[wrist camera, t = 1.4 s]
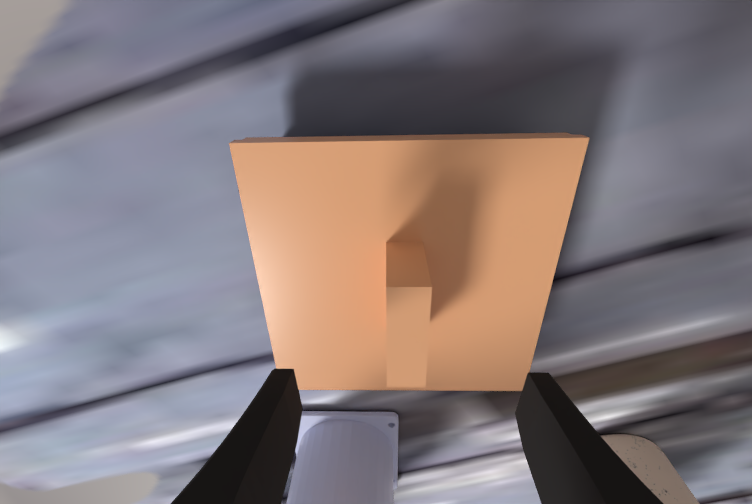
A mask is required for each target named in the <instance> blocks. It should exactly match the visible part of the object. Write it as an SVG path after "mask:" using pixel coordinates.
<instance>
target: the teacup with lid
mask: <svg viewBox="0 0 752 504" xmlns="http://www.w3.org/2000/svg"><path fill="white" fill-rule="evenodd" d="M601 437H602V438H603V439H604V440H605V442H606V443H607V444H608V445H609V446H610V447H611V448H612V450H613V451H614V452H615V453H616V454H617V455H618V456H619V457H620V458H621V460H622V461H623V462H624V463H625V464H626V465H627V466H628V467H629V468H630V469H631V470H632V471H633V472H634V474H635V475H636V476H637V477H638V478H639V479H640V480H641V481H642V482H643V483H644V484H645V485H646V486H647V487H648V488H649V489H650V490H651V491H652V492H653V493H654V494H655V495H656V496H657V497H658V498H659V499H660V500H661V501H662V502H663V503H664V504H699V502H698V501H697V500H696V498H695V497H694V495H693V494H692V493H691V491H690V490H689V488H688V487H687V485H686V484H685V483H684V481H683V480H682V478H681V477H680V475H679V474H678V473H677V471H676V470H675V468H674V467H673V465H672V464H671V463H670V461H669V460H668V458H667V457H666V456H665V454H664V453H663V451H662V450H661V449H660V448H659V447H658V446H657V445H656V444H654V443H653V442H651V441H649V440H647V439H645V438H642V437H639V436H635V435H627V434H609V435H602V436H601Z"/></svg>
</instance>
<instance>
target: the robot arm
mask: <svg viewBox="0 0 752 504" xmlns="http://www.w3.org/2000/svg"><path fill="white" fill-rule="evenodd" d="M515 414H516V419H517V424H518V428H519V433H520V437H521V442H522V446H523V450H524V453H525V456H526V459H527V462H528V465H529V468H530V471H531V474H532V477H533V480H534V483H535V485H536V488H537V491H538V494H539V497H540V500H541V503H542V504H664V503H663V502H662V501H661V500H660V499H659V498H658V497H657V496H656V495H655V494H654V493H653V492H652V491H651V490H650V489H649V488H648V487H647V486H646V485H645V484H644V483H643V482H642V481H641V480H640V479H639V478H638V477H637V476H636V475H635V474H634V472H633V471H632V470H631V469H630V468H629V467H628V466H627V465H626V464H625V463H624V462H623V461H622V460H621V458H620V457H619V456H618V455H617V454H616V453H615V452H614V451H613V450H612V448H611V447H610V446H609V445H608V444H607V443H606V442H605V440H604V439H603V438H602V437H601V436H600V435H599V433H598V432H597V431H596V430H595V429H594V428H593V427H592V425H591V424H590V423H589V422H588V421H587V419H586V418H585V417H584V416H583V415H582V413H581V412H580V411H579V410H578V408H577V407H576V406H575V405H574V404H573V402H572V401H571V400H570V399H569V397H568V396H567V395H566V394H565V392H564V391H563V390H562V389H561V387H560V386H559V385H558V384H557V382H556V381H555V380H554V379H553V377H552V376H551V375H550V374H549V373H528V374H527V377H526V380H525V383H524V387H523V390H522V393H521V396H520V400H519V403H518V406H517V409H516V413H515ZM294 452H296V457H297V458H296V462H295V467H294V471H293V475H292V480H291V484H290V489H289V493H288V498H287V502H286V504H394V490H395V489H396V488H397V480H398V415H397V414H396V413H395V412H348V411H302V404H301V399H300V395H299V390H298V386H297V381H296V377H295V372H294V369H274V370H272V371H271V373H270V375H269V376H268V378H267V379H266V381H265V382H264V384H263V386H262V387H261V389H260V390H259V392H258V393H257V395H256V396H255V398H254V399H253V401H252V402H251V403H250V405H249V406H248V408H247V409H246V411H245V412H244V414H243V415H242V416H241V418H240V419H239V420H238V422H237V423H236V425H235V426H234V427H233V429H232V430H231V431H230V433H229V434H228V435H227V437H226V438H225V439H224V441H223V442H222V443H221V445H220V446H219V447H218V448H217V450H216V451H215V452H214V453H213V455H212V456H211V457H210V458H209V460H208V461H207V462H206V463H205V465H204V466H203V467H202V468H201V470H200V471H199V472H198V473H197V474H196V475H195V477H194V478H193V479H192V480H191V481H190V483H189V484H188V485H187V486H186V487H185V488H184V489H183V490H182V492H181V493H180V494H179V495H178V496H177V497H176V498H175V499H174V501H173V502H172V503H171V504H281V500H282V497H283V493H284V489H285V486H286V482H287V478H288V475H289V471H290V467H291V464H292V460H293V456H294Z"/></svg>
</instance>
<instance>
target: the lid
mask: <svg viewBox="0 0 752 504" xmlns="http://www.w3.org/2000/svg"><path fill="white" fill-rule="evenodd" d="M588 142H589V137H587V136H584V135H572V134H569V133H510V134H446V135H382V136H317V137H253V138H245V139H243V140H234V141H232V142H230V143H229V145H230V150H231V155H232V159H233V164H234V169H235V174H236V178H237V183H238V188H239V193H240V198H241V202H242V207H243V212H244V217H245V221H246V226H247V231H248V236H249V240H250V245H251V250H252V255H253V259H254V264H255V269H256V274H257V278H258V283H259V288H260V293H261V298H262V302H263V307H264V312H265V317H266V321H267V326H268V331H269V336H270V340H271V345H272V350H273V355H274V359H275V364H276V369H294V372H295V377H296V381H297V386H298V390H435V391H522V390H523V387H524V383H525V380H526V377H527V374H528V373H529V371H530V367H531V364H532V360H533V356H534V352H535V348H536V344H537V340H538V336H539V332H540V329H541V325H542V321H543V317H544V313H545V309H546V305H547V301H548V297H549V293H550V290H551V286H552V282H553V278H554V274H555V270H556V266H557V262H558V258H559V255H560V251H561V247H562V243H563V239H564V235H565V231H566V227H567V223H568V219H569V216H570V212H571V208H572V204H573V200H574V196H575V192H576V188H577V184H578V181H579V177H580V173H581V169H582V165H583V161H584V157H585V153H586V149H587V145H588Z"/></svg>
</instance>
